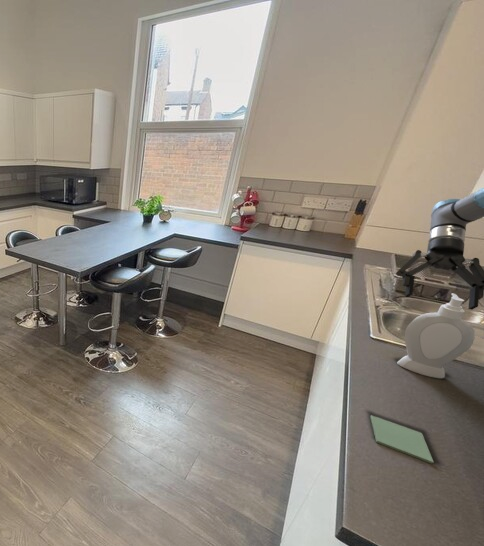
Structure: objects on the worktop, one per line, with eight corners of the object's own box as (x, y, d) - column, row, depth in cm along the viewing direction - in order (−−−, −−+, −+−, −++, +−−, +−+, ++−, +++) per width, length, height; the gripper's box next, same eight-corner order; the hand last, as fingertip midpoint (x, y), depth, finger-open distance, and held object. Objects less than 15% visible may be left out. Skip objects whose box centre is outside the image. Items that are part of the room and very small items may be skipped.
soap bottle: (447, 371, 94) (488, 299, 85) (453, 384, 88) (498, 309, 79) (389, 354, 101) (421, 286, 92) (391, 365, 96) (425, 294, 87)
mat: (420, 434, 72) (422, 433, 72) (432, 464, 65) (434, 462, 65) (370, 416, 77) (370, 414, 77) (376, 442, 70) (377, 440, 70)
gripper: (398, 230, 104) (389, 286, 98) (515, 243, 90) (513, 308, 84) (388, 242, 110) (379, 295, 104) (497, 256, 96) (494, 317, 90)
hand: (439, 301), depth 94 cm, fingers open, 13 cm apart
